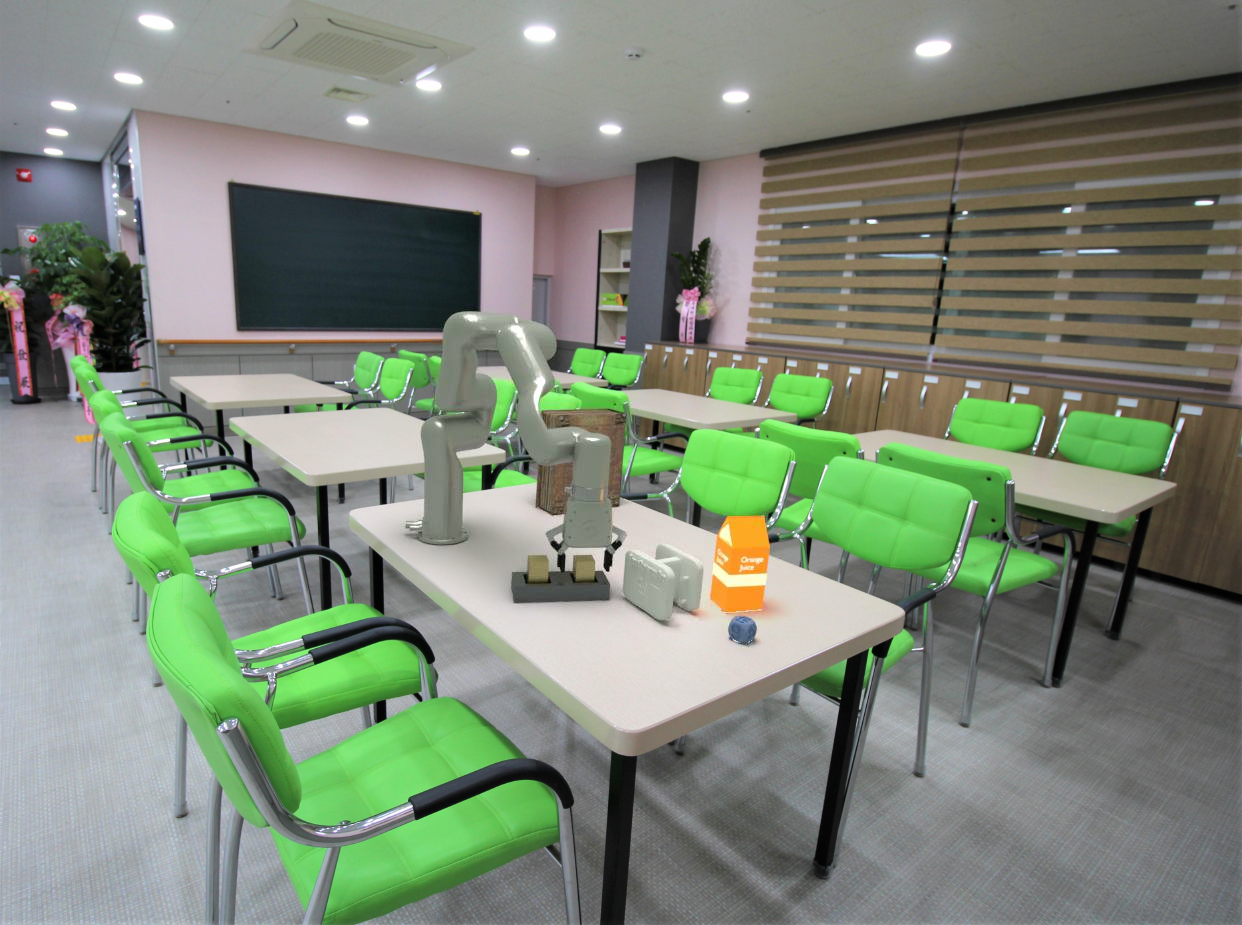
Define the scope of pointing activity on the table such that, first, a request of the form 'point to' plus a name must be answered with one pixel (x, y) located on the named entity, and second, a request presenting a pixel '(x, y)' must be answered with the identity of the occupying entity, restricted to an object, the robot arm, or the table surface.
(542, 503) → the book
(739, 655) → the table surface
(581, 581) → the brass square peg
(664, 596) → the cable organizer
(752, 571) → the orange juice
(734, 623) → the decorative dice
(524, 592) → the peg holder block
